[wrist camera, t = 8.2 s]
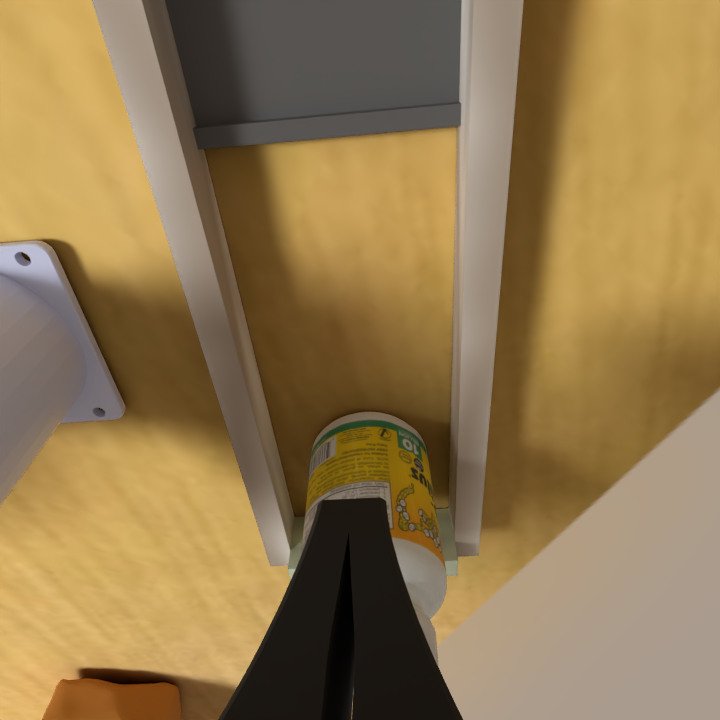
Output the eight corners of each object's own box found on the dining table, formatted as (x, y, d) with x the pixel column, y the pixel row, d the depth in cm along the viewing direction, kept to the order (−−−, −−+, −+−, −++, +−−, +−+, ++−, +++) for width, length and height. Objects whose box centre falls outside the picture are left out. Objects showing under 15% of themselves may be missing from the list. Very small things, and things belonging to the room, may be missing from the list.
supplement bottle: (298, 417, 23) (267, 638, 15) (419, 398, 22) (453, 619, 14) (326, 495, 26) (313, 714, 18) (432, 481, 25) (467, 701, 17)
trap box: (275, 532, 27) (267, 584, 25) (6, -407, 10) (-107, -540, 8) (471, 521, 27) (482, 574, 24) (535, -485, 10) (595, -653, 7)
